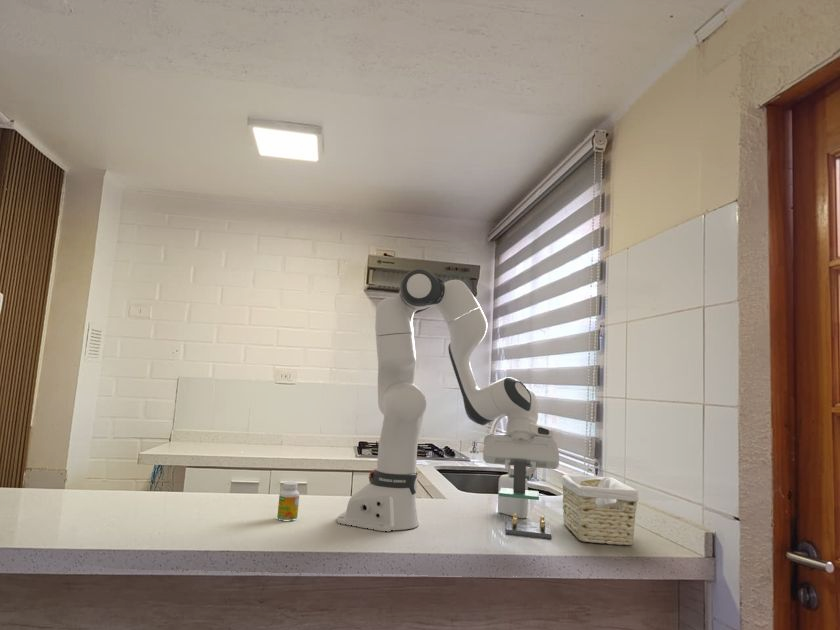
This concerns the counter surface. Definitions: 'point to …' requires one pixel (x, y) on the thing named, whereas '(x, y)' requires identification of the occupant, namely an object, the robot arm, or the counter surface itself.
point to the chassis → (528, 528)
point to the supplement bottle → (288, 501)
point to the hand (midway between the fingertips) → (519, 477)
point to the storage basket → (599, 509)
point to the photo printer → (511, 499)
